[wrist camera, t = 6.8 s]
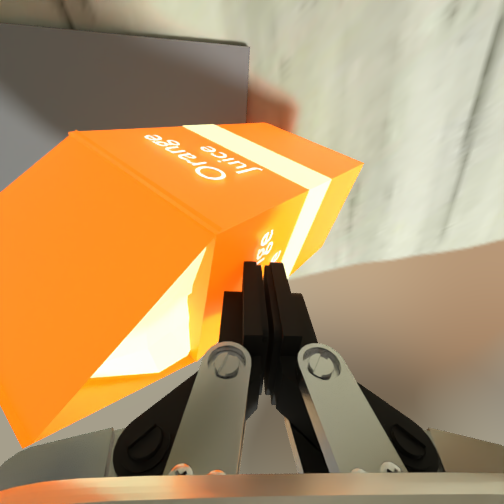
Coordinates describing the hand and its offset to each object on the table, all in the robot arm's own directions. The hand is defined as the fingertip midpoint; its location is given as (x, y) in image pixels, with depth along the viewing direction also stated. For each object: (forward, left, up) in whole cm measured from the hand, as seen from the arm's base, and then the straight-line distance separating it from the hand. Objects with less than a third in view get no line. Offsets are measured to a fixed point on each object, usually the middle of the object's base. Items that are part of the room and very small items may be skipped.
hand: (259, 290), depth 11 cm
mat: (-1, -12, -16) cm, 20 cm away
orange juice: (-1, +4, -13) cm, 13 cm away
